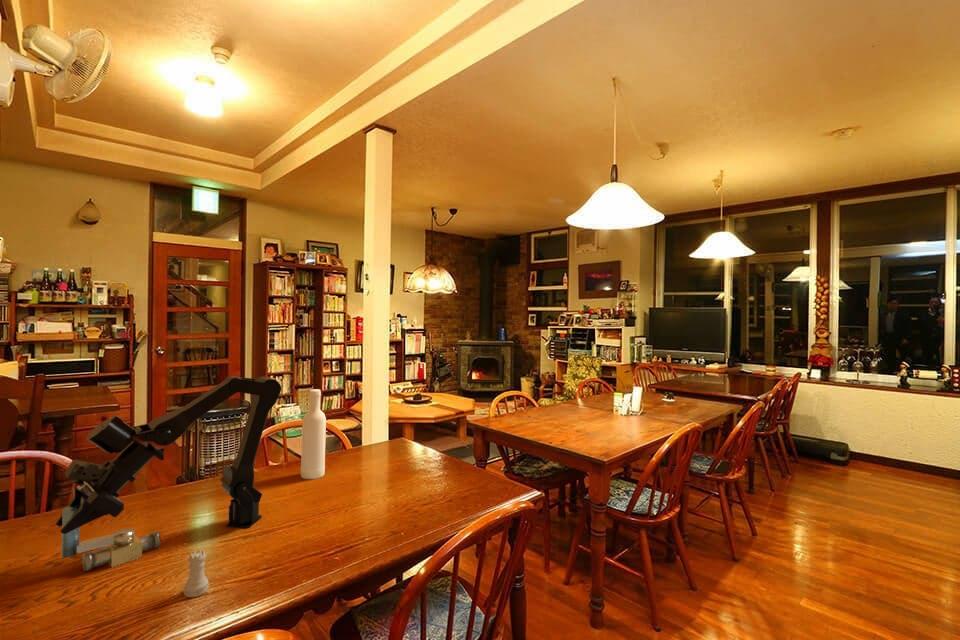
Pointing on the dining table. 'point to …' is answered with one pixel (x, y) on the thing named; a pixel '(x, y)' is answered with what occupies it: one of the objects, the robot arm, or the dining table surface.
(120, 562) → the valve body
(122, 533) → the lever
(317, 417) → the bottle
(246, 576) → the dining table surface
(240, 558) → the dining table surface
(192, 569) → the rook chess piece
